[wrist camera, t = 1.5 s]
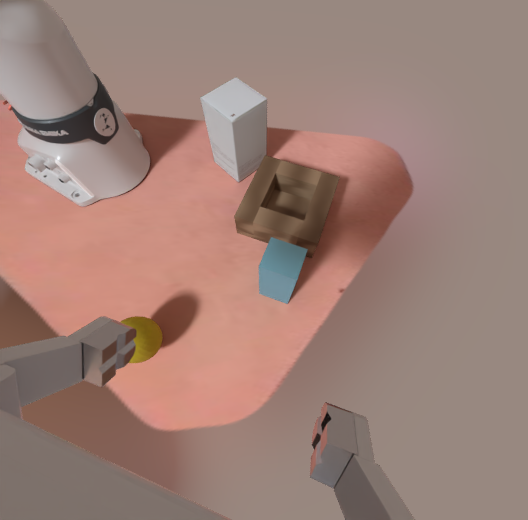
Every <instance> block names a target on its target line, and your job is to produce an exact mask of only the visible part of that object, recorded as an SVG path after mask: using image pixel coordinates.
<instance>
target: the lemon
mask: <svg viewBox="0 0 528 520" xmlns="http://www.w3.org/2000/svg"><path fill="white" fill-rule="evenodd" d="M120 323H123V324H125V325H128V326H130V327H132V328H134V329H136V330H137V334H136V337H135V338H134V339H133V340H134V342H135V344H136V349H135V352H134V355H133V357H132V358H131V360H130V361H129V363H140V362H143V361H146V360H148V359H150V358H151V357H153V356H154V355H155V354H156V353H157V352H158V350H159V348H160V346H161V344H162V332H161V329H160V327H159V326H158V325H157V323H156V322H154V321H153V320H151V319H149V318H146V317H130V318H127V319H125V320H123V321H121V322H120Z"/></svg>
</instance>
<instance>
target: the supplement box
mask: <svg viewBox="0 0 528 520" xmlns="http://www.w3.org/2000/svg"><path fill="white" fill-rule="evenodd" d="M200 99H201V104H202V108H203V112H204V117H205V121H206V126H207V130H208V134H209V139H210V143H211V147H212V152H213V156H214V161H215V162H216V163H217V164H218V165H219V166H220V167H221V168H223V169H224V170H225V171H226V172H227V173H228V174H229V175H231V176H232V177H233V178H234V179H235V180H236V181H237V182H240V181H242V180H243V179H244V178H246V177H247V176H249V175H250V174H251V173H253V172H254V171H256V170H257V169H258V168H259V166H260V164H261V162H262V160H263V158H264V156H265V155H266V146H267V98H265V97H264V96H262V95H261V94H260V93H258V92H257V91H255V90H254V89H252V88H251V87H250V86H248V85H247V84H245V83H244V82H242V81H241V80H240V79H238V78H236V77H235V78H234V79H232V80H230V81H228V82H227V83H225V84H223V85H221V86H219V87H218V88H216V89H214V90H213V91H211V92H209V93H208V94H206V95H204V96H202V97H201V98H200Z"/></svg>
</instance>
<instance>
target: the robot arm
mask: <svg viewBox="0 0 528 520" xmlns="http://www.w3.org/2000/svg"><path fill="white" fill-rule="evenodd" d="M0 94H1V95H2V96H3V97H4V98H5V99H6V101H5V102H3V104H4V105H5V104H7V103H8V102H9V104H10V106H9V108H8V110H13V112H14V113H15V115H16V116H17V118H18V121H19V122H20V124H22V126H23V127H22V129H21V131H20V133H19V136H18V144H19V146H20V147H21V148H22V149H23V150H24V151H25V152H26V153H27V154H28V155H29V157H28V159H27V161H26V165H25V170H26V171H27V172H28V173H29V174H30V175H31V176H33V177H34V178H36V179H38V180H39V181H41V182H42V183H44V184H46V185H47V186H49V187H50V188H52V189H54V190H55V191H57V192H58V193H60V194H62V195H63V196H65V197H66V198H68V199H69V200H71V201H73V202H74V203H76V204H77V205H79V206H87V205H90V204H92V203H94V202H96V201H98V200H100V199H104V198H109V197H114V196H118V195H121V194H123V193H125V192H127V191H129V190H131V189H133V188H134V187H135V186H137V185H138V184H139V183H140V182H141V181H142V180H143V179H144V177H145V176H146V174H147V172H148V170H149V167H150V156H149V153H148V151H147V150H146V149H145V147H144V146H143V141H142V135H141V134H140V132H139V131H138V130H136V129H133V128H132V126H131V125H130V123H129V121H128V120H127V118H126V117H125V115H124V114H123V112H122V111H121V109H120V108H119V106H118V105H117V104H116V103H115V102H114V101H112V100H111V98H110V96H109V94H108V91H107V90H106V88H105V86H104V85H103V84H102V83H101V81H100V79H99V78H98V77H97V76H96V75H95V74H94V73H93V72H92V71H91V69H90V67H89V66H88V64H87V62H86V60H85V58H84V57H83V55H82V53H81V51H80V50H79V48H78V46H77V45H76V43H75V41H74V39H73V37H72V36H71V34H70V32H69V30H68V29H67V27H66V25H65V23H64V22H63V20H62V18H61V17H60V16H59V14H58V13H57V12H56V11H55V10H54V9H53V8H52V7H51V6H50V5H49V4H48V3H47V2H45V1H44V0H0ZM136 334H137V330H136V329H134V328H132V327H130V326H128V325H125V324H123V323H120V322H118V321H116V320H113V319H110V318H108V317H106V316H103V317H99V318H98V319H96V320H94V321H93V322H91V323H89V324H88V325H86V326H84V327H83V328H81V329H79V330H78V331H76V332H75V333H73V334H71V335H70V336H68V337H66V336H60V337H55V338H51V339H46V340H41V341H36V342H32V343H27V344H22V345H18V346H13V347H8V348H3V349H0V520H231V519H229V518H227V517H225V516H223V515H221V514H219V513H216V512H214V511H212V510H210V509H208V508H206V507H204V506H202V505H200V504H198V503H196V502H194V501H191V500H189V499H187V498H185V497H183V496H181V495H179V494H177V493H175V492H173V491H171V490H169V489H166V488H164V487H162V486H160V485H158V484H156V483H154V482H152V481H150V480H147V479H145V478H143V477H141V476H139V475H137V474H135V473H133V472H131V471H129V470H127V469H124V468H122V467H120V466H118V465H116V464H114V463H112V462H110V461H107V460H106V459H103V458H101V457H99V456H97V455H95V454H93V453H91V452H89V451H87V450H85V449H83V448H81V447H79V446H76V445H74V444H72V443H70V442H68V441H66V440H64V439H62V438H60V437H58V436H56V435H54V434H51V433H49V432H47V431H45V430H43V429H41V428H39V427H37V426H35V425H32V424H30V423H28V422H26V421H24V420H22V419H23V417H22V410H21V407H23V406H25V405H27V404H30V403H32V402H34V401H37V400H39V399H41V398H43V397H46V396H48V395H51V394H53V393H55V392H58V391H60V390H62V389H65V388H67V387H70V386H72V385H74V384H77V383H79V382H81V381H82V380H85V381H87V382H90V383H92V384H95V385H97V386H100V387H103V386H104V385H105V384H106V383H107V382H108V381H109V380H110V379H111V378H113V377H114V376H115V374H116V369H119V368H122V367H124V366H125V365H126V364H128V363H129V361H130V360H131V358H132V357H133V355H134V352H135V349H136V344H135V342H134V340H133V339H134V338H135V337H136ZM312 446H313V448H314V452H313V454H312V456H311V467H310V478H312V479H314V480H317V481H319V482H321V483H323V484H325V485H327V486H329V487H331V488H334V492H335V495H336V497H337V500H338V502H339V505H340V507H341V510H342V513H343V515H344V517H345V520H415V519H414V517H413V516H412V514H411V513H410V511H409V510H408V508H407V507H406V505H405V504H404V502H403V500H402V499H401V498H400V496H399V494H398V493H397V491H396V490H395V488H394V487H393V485H392V484H391V482H390V481H389V479H388V478H387V476H386V474H385V473H384V472H383V470H382V468H381V467H380V465H378V464H376V463H375V461H374V455H373V449H372V443H371V438H370V432H369V426H368V420H367V418H366V417H364V416H362V415H359V414H356V413H353V412H351V411H348V410H345V409H342V408H340V407H337V406H335V405H332V404H329V403H327V402H325V403H324V405H323V407H322V410H321V416H320V417H318V418H317V421H316V423H315V426H314V430H313V436H312Z"/></svg>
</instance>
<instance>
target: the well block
mask: <svg viewBox="0 0 528 520" xmlns="http://www.w3.org/2000/svg"><path fill="white" fill-rule="evenodd" d="M339 178H340V177H338V176H335V175H331V174H328V173H324V172H321V171H317V170H314V169H311V168H307V167H304V166H300V165H297V164H293V163H290V162H287V161H283V160H280V159H276V158H273V157H269V156H266V155H265V156H264V158H263V160H262V162H261V164H260V166H259V168H258V170H257V172H256V174H255V176H254V178H253V180H252V182H251V184H250V186H249V188H248V190H247V192H246V194H245V196H244V198H243V200H242V202H241V204H240V206H239V208H238V210H237V212H236V214H235V216H234V217H235V223H236V228H237V233H240V234H243V235H245V236H248V237H251V238H254V239H257V240H260V241H263V242H266V243H269V241H270V238H271V237H273V238H275V239H278V240H281V241H284V242H287V243H290V244H293V245H296V246H299V247H302V248H305V249H308V250H307V253H306V256H307V257H310V258H312V256H313V254H314V252H315V249H316V247H317V245H318V242H319V239H320V236H321V233H322V230H323V227H324V224H325V221H326V218H327V215H328V212H329V209H330V206H331V203H332V199H333V196H334V193H335V190H336V187H337V184H338V181H339Z"/></svg>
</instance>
